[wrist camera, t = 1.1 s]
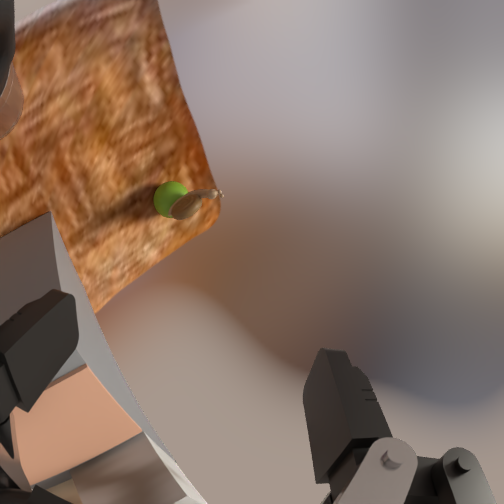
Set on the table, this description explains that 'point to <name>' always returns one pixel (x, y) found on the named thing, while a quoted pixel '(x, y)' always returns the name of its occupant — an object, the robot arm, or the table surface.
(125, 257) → the table surface
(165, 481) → the beam
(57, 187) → the table surface
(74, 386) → the pedestal
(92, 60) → the table surface
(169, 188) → the snail figurine
